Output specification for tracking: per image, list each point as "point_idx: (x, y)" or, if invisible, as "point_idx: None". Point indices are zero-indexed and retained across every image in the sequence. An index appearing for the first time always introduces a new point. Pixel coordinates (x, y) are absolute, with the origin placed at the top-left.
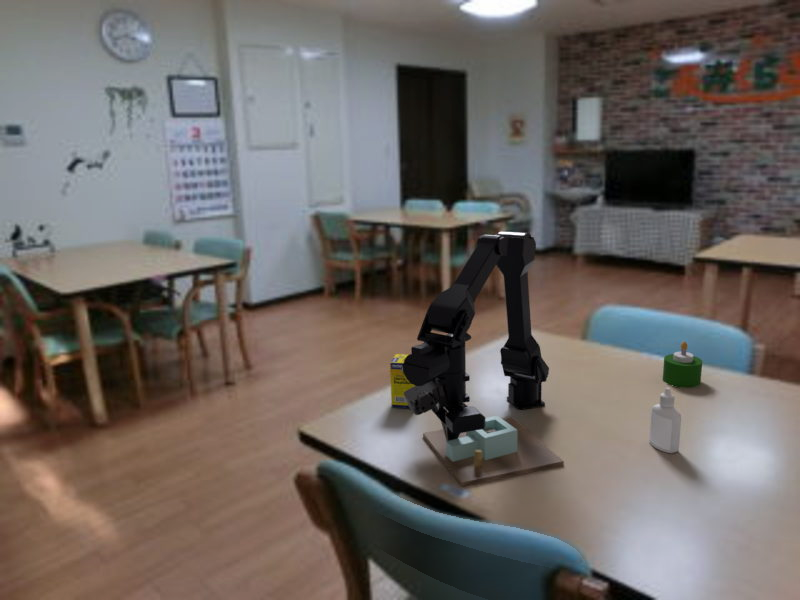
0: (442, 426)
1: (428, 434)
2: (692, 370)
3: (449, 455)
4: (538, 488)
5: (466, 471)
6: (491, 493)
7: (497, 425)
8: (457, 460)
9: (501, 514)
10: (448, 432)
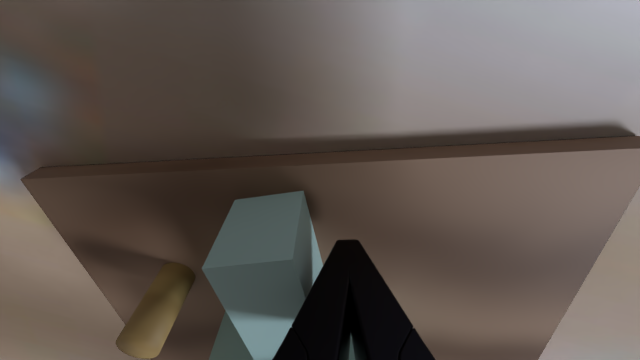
0: (417, 337)
1: (612, 172)
2: None
3: (265, 207)
4: (77, 347)
5: (134, 225)
6: (14, 247)
7: None
8: None
9: None
10: (287, 339)
